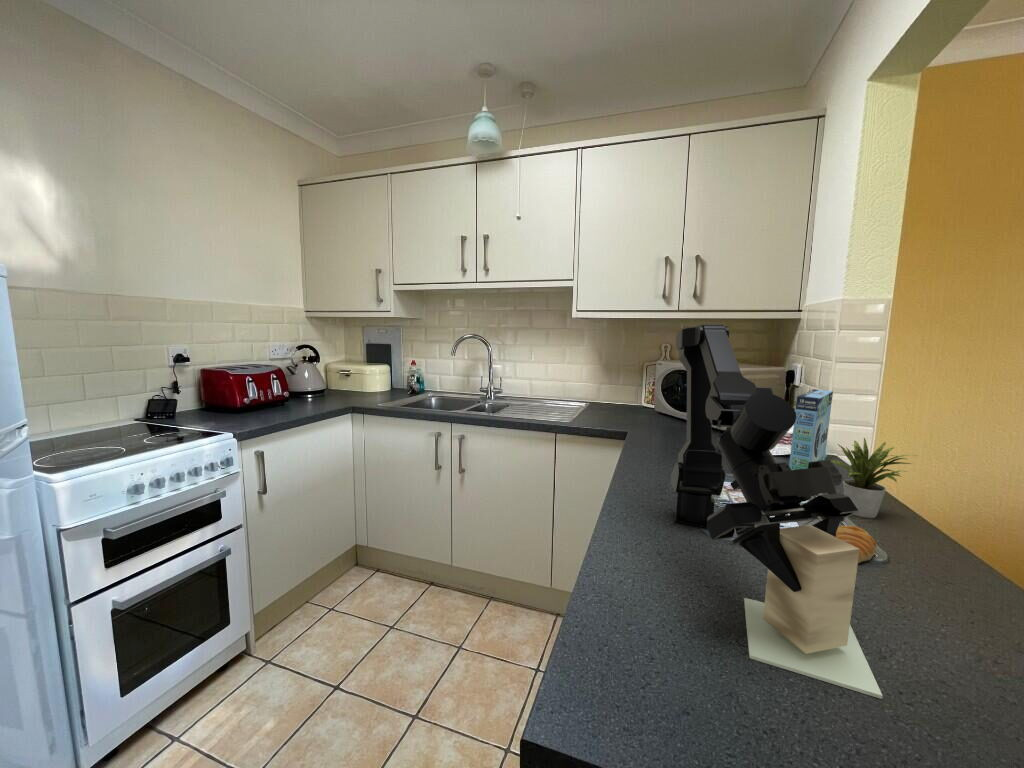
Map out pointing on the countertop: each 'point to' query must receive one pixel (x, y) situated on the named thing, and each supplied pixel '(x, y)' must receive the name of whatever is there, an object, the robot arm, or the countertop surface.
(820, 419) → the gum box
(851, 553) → the birch block
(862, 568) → the countertop surface
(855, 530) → the pastry
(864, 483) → the house plant
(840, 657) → the sage mat
